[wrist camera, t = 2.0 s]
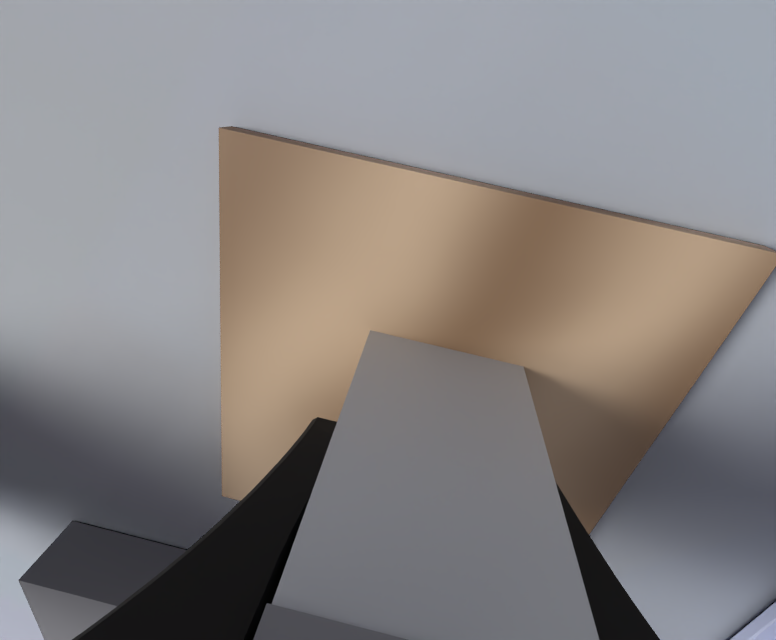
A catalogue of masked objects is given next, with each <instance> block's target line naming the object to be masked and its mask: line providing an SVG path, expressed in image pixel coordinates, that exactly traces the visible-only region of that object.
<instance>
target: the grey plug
mask: <svg viewBox="0 0 776 640" xmlns="http://www.w3.org/2000/svg"><path fill="white" fill-rule="evenodd" d="M253 640H599V637H598V633H597V630H596V626H595V622H594V619H593V615H592V612H591V608H590V604H589V601H588V597H587V594H586V590H585V586H584V583H583V579H582V576H581V572H580V568H579V565H578V561H577V558H576V554H575V550H574V547H573V543H572V540H571V536H570V532H569V529H568V525H567V522H566V518H565V514H564V511H563V507H562V504H561V500H560V496H559V493H558V489H557V486H556V482H555V478H554V475H553V471H552V468H551V464H550V460H549V457H548V453H547V450H546V446H545V442H544V439H543V435H542V432H541V428H540V424H539V421H538V417H537V414H536V410H535V406H534V403H533V399H532V396H531V392H530V388H529V385H528V381H527V378H526V374H525V370H524V367H523V366H519V365H515V364H511V363H506V362H502V361H498V360H494V359H490V358H485V357H481V356H477V355H473V354H468V353H464V352H460V351H456V350H452V349H447V348H443V347H439V346H435V345H430V344H426V343H422V342H418V341H414V340H409V339H405V338H401V337H397V336H393V335H388V334H384V333H380V332H376V331H371V330H370V332H369V335H368V338H367V340H366V343H365V346H364V349H363V351H362V354H361V357H360V360H359V363H358V365H357V368H356V371H355V374H354V377H353V379H352V382H351V385H350V388H349V390H348V393H347V396H346V399H345V402H344V404H343V407H342V410H341V413H340V415H339V418H338V421H337V424H336V427H335V429H334V432H333V435H332V438H331V440H330V443H329V446H328V449H327V452H326V454H325V457H324V460H323V463H322V465H321V468H320V471H319V474H318V477H317V479H316V482H315V485H314V488H313V490H312V493H311V496H310V499H309V502H308V504H307V507H306V510H305V513H304V515H303V518H302V521H301V524H300V527H299V529H298V532H297V535H296V538H295V540H294V543H293V546H292V549H291V552H290V554H289V557H288V560H287V563H286V565H285V568H284V571H283V574H282V577H281V579H280V582H279V585H278V588H277V590H276V593H275V596H274V599H273V602H272V604H269V603H267V604H266V606H265V609H264V612H263V615H262V617H261V620H260V623H259V625H258V628H257V631H256V633H255V636H254V639H253Z"/></svg>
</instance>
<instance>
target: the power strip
mask: <svg viewBox="0 0 776 640" xmlns="http://www.w3.org/2000/svg"><path fill="white" fill-rule="evenodd" d="M185 551H187V550H184V549H180V548H176V547H172V546H168V545H164V544H160V543H156V542H153V541H149V540H145V539H141V538H137V537H133V536H129V535H125V534H121V533H118V532H114V531H110V530H106V529H102V528H98V527H94V526H90V525H86V524H82V523H79V522H75V521H72V522H71V523H70V524H69V525H68V526H67V528H66V529H65V530H64V531H63V532H62V533H61V534H60V535H59V536H58V537H57V539H56V540H55V541H54V542H53V543H52V544H51V545H50V546H49V547H48V548H47V550H46V551H45V552H44V553H43V554H42V555H41V556H40V557H39V558H38V559H37V561H36V562H35V563H34V564H33V565H32V566H31V567H30V568H29V569H28V570H27V571H26V573H25V574H24V575H23V576H22V577H21V578H20V579H19V583H20V585H21V587H22V589H23V592H24V594H25V596H26V599H27V601H28V603H29V605H30V608H31V610H32V612H33V615H34V617H35V619H36V621H37V624H38V626H39V628H40V631H41V633H42V635H43V637H44V640H72V639H73V638H75V637H76V636H78V635H79V634H80V633H82V632H83V631H85V630H86V629H87V628H89V627H90V626H91V625H93V624H94V623H96V622H97V621H98V620H100V619H101V618H102V617H104V616H105V615H106V614H108V613H109V612H110V611H112V610H113V609H114V608H116V607H117V606H118V605H119V604H121V603H122V602H123V601H125V600H126V599H127V598H128V597H130V596H131V595H132V594H134V593H135V592H136V591H137V590H139V589H140V588H141V587H143V586H144V585H145V584H146V583H148V582H149V581H150V580H151V579H153V578H154V577H155V576H157V575H158V574H159V573H160V572H162V571H163V570H164V569H165V568H166V567H168V566H169V565H170V564H171V563H172V562H174V561H175V560H176V559H177V558H178V557H180V556H181V555H182V554H183V553H184V552H185Z"/></svg>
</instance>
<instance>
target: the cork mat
mask: <svg viewBox="0 0 776 640" xmlns="http://www.w3.org/2000/svg"><path fill="white" fill-rule="evenodd" d="M219 203H220V323H221V443H222V496H224V497H228V498H232V499H236V500H240V501H241V500H242V499H243V498H244V497H245V496H246V495H247V494H248V493H249V492H250V491H251V490H252V489H253V488H254V487H255V486H256V485H257V484H258V483H259V482H260V481H261V480H262V479H263V478H264V477H265V476H266V475H267V474H268V472H269V471H270V470H271V469H272V468H273V467H274V466H275V465H276V464H277V463H278V462H279V461H280V460H281V458H282V457H283V456H284V455H285V454H286V453H287V452H288V450H289V449H290V448H291V447H292V446H293V445H294V443H295V442H296V441H297V440H298V438H299V437H300V436H301V435H302V433H303V432H304V431H305V429H306V428H307V427H308V425H309V424H310V422H311V421H312V420H313V419H315V418H317V417H319V418H324V419H328V420H332V421H336V422H337V421H338V418H339V415H340V413H341V410H342V407H343V404H344V402H345V399H346V396H347V393H348V390H349V388H350V385H351V382H352V379H353V377H354V374H355V371H356V368H357V365H358V363H359V360H360V357H361V354H362V351H363V349H364V346H365V343H366V340H367V338H368V335H369V332H370V330H371V331H376V332H380V333H384V334H388V335H393V336H397V337H401V338H405V339H409V340H414V341H418V342H422V343H426V344H430V345H435V346H439V347H443V348H447V349H452V350H456V351H460V352H464V353H468V354H473V355H477V356H481V357H485V358H490V359H494V360H498V361H502V362H506V363H511V364H515V365H519V366H523V367H524V370H525V374H526V378H527V381H528V385H529V388H530V392H531V396H532V399H533V403H534V406H535V410H536V414H537V417H538V421H539V424H540V428H541V432H542V435H543V439H544V442H545V446H546V450H547V453H548V457H549V460H550V464H551V468H552V471H553V475H554V478H555V481H556V483H557V485H558V486H559V488H560V489H561V491H562V493H563V494H564V496H565V497H566V499H567V501H568V502H569V504H570V506H571V507H572V509H573V510H574V512H575V514H576V515H577V517H578V519H579V520H580V522H581V523H582V525H583V526H584V528H585V530H586V531H587V533H588V534H590V533H591V531H592V530H593V528H594V527H595V526H596V524H597V523H598V521H599V520H600V518H601V517H602V515H603V514H604V513H605V511H606V510H607V508H608V507H609V505H610V504H611V503H612V501H613V500H614V498H615V497H616V495H617V494H618V492H619V491H620V490H621V488H622V487H623V485H624V484H625V482H626V481H627V479H628V478H629V477H630V475H631V474H632V472H633V471H634V469H635V468H636V467H637V465H638V464H639V462H640V461H641V459H642V458H643V456H644V455H645V454H646V452H647V451H648V449H649V448H650V446H651V445H652V444H653V442H654V441H655V439H656V438H657V436H658V435H659V433H660V432H661V431H662V429H663V428H664V426H665V425H666V423H667V422H668V421H669V419H670V418H671V416H672V415H673V413H674V412H675V410H676V409H677V408H678V406H679V405H680V403H681V402H682V400H683V399H684V398H685V396H686V395H687V393H688V392H689V390H690V389H691V387H692V386H693V385H694V383H695V382H696V380H697V379H698V377H699V376H700V375H701V373H702V372H703V370H704V369H705V367H706V366H707V364H708V363H709V362H710V360H711V359H712V357H713V356H714V354H715V353H716V352H717V350H718V349H719V347H720V346H721V344H722V343H723V341H724V340H725V339H726V337H727V336H728V334H729V333H730V331H731V330H732V329H733V327H734V326H735V324H736V323H737V321H738V320H739V318H740V317H741V316H742V314H743V313H744V311H745V310H746V308H747V307H748V306H749V304H750V303H751V301H752V300H753V298H754V297H755V295H756V294H757V293H758V291H759V290H760V288H761V287H762V285H763V284H764V283H765V281H766V280H767V278H768V277H769V275H770V274H771V272H772V271H773V270H774V268H775V267H776V251H775V250H772V249H770V248H768V247H766V246H763V245H758V244H754V243H749V242H745V241H741V240H736V239H732V238H727V237H723V236H718V235H714V234H709V233H705V232H700V231H696V230H692V229H687V228H683V227H678V226H674V225H669V224H665V223H660V222H656V221H651V220H647V219H642V218H638V217H634V216H629V215H625V214H620V213H616V212H611V211H607V210H602V209H598V208H593V207H589V206H585V205H580V204H576V203H571V202H567V201H562V200H558V199H553V198H549V197H544V196H540V195H536V194H531V193H527V192H522V191H518V190H513V189H509V188H504V187H500V186H495V185H491V184H487V183H482V182H478V181H473V180H469V179H464V178H460V177H455V176H451V175H446V174H442V173H438V172H433V171H429V170H424V169H420V168H415V167H411V166H406V165H402V164H397V163H393V162H389V161H384V160H380V159H375V158H371V157H366V156H362V155H357V154H353V153H348V152H344V151H339V150H335V149H331V148H326V147H322V146H317V145H313V144H308V143H304V142H299V141H295V140H290V139H286V138H282V137H277V136H273V135H268V134H264V133H259V132H255V131H250V130H246V129H241V128H237V127H233V126H231V127H220V128H219Z"/></svg>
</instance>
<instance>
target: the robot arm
mask: <svg viewBox="0 0 776 640" xmlns="http://www.w3.org/2000/svg"><path fill="white" fill-rule="evenodd" d="M336 424H337V422H336V421H332V420H328V419H324V418H319V417H317V418H315V419H313V420H312V421H311V422H310V424H309V425H308V427H307V428H306V429H305V431H304V432H303V433H302V435H301V436H300V437H299V438H298V440H297V441H296V442H295V443H294V445H293V446H292V447H291V448H290V449H289V450H288V452H287V453H286V454H285V455H284V456H283V457H282V458H281V460H280V461H279V462H278V463H277V464H276V465H275V466H274V467H273V468H272V469H271V470H270V471H269V472H268V474H267V475H266V476H265V477H264V478H263V479H262V480H261V481H260V482H259V483H258V484H257V485H256V486H255V487H254V488H253V489H252V490H251V491H250V492H249V493H248V494H247V495H246V496H245V497H244V498H243V499H242V500H241V501H240V502H239V503H238V504H237V505H236V506H235V507H234V508H233V509H232V510H231V511H230V512H229V513H228V514H226V515H225V516H224V517H223V518H222V519H221V520H220V521H219V522H218V523H217V524H216V525H215V526H214V527H213V528H212V529H211V530H209V531H208V532H207V533H206V534H205V535H204V536H203V537H202V538H200V539H199V540H198V541H197V542H196V543H195V544H194V545H192V546H191V547H190V548H189V549H188V550H187V551H185V552H184V553H183V554H182V555H181V556H180V557H178V558H177V559H176V560H175V561H174V562H172V563H171V564H170V565H169V566H168V567H166V568H165V569H164V570H163V571H162V572H160V573H159V574H158V575H157V576H155V577H154V578H153V579H151V580H150V581H149V582H148V583H146V584H145V585H144V586H143V587H141V588H140V589H139V590H137V591H136V592H135V593H134V594H132V595H131V596H130V597H128V598H127V599H126V600H125V601H123V602H122V603H121V604H119V605H118V606H117V607H116V608H114V609H113V610H112V611H110V612H109V613H108V614H106V615H105V616H104V617H102V618H101V619H100V620H98V621H97V622H96V623H94V624H93V625H91V626H90V627H89V628H87V629H86V630H85V631H83V632H82V633H80V634H79V635H78V636H76V637H75V638H73V639H72V640H253V639H254V636H255V633H256V631H257V628H258V625H259V623H260V620H261V617H262V615H263V612H264V609H265V606H266V604H267V603H269V604H272V602H273V599H274V596H275V593H276V590H277V588H278V585H279V582H280V579H281V577H282V574H283V571H284V568H285V565H286V563H287V560H288V557H289V554H290V552H291V549H292V546H293V543H294V540H295V538H296V535H297V532H298V529H299V527H300V524H301V521H302V518H303V515H304V513H305V510H306V507H307V504H308V502H309V499H310V496H311V493H312V490H313V488H314V485H315V482H316V479H317V477H318V474H319V471H320V468H321V465H322V463H323V460H324V457H325V454H326V452H327V449H328V446H329V443H330V440H331V438H332V435H333V432H334V429H335V427H336ZM555 482H556V481H555ZM556 486H557V489H558V493H559V496H560V500H561V504H562V507H563V511H564V514H565V518H566V522H567V525H568V529H569V532H570V536H571V540H572V543H573V547H574V550H575V554H576V558H577V561H578V565H579V568H580V572H581V576H582V579H583V583H584V586H585V590H586V594H587V597H588V601H589V604H590V608H591V612H592V615H593V619H594V622H595V626H596V630H597V633H598V637H599V640H660V639H659V638H658V636H657V635H656V634H655V632H654V631H653V629H652V628H651V627H650V625H649V624H648V622H647V621H646V620H645V618H644V617H643V615H642V614H641V613H640V611H639V610H638V608H637V607H636V606H635V604H634V603H633V601H632V600H631V598H630V597H629V595H628V594H627V592H626V591H625V590H624V588H623V587H622V585H621V584H620V582H619V581H618V579H617V578H616V576H615V575H614V573H613V572H612V570H611V569H610V567H609V566H608V564H607V562H606V561H605V559H604V558H603V556H602V555H601V553H600V552H599V550H598V549H597V547H596V545H595V544H594V542H593V541H592V539H591V538H590V536H589V534H588V533H587V531H586V530H585V528H584V526H583V525H582V523H581V522H580V520H579V519H578V517H577V515H576V514H575V512H574V510H573V509H572V507H571V506H570V504H569V502H568V501H567V499H566V497H565V496H564V494H563V493H562V491H561V489H560V488H559V486H558V485H557V483H556ZM730 640H776V602H775V603H773V604H772V605H771V606H770V607H769V608H767V609H766V610H765V611H764V612H763V613H761V614H760V615H759V616H758V617H756V618H755V619H754V620H753V621H752V622H750V623H749V624H748V625H747V626H746V627H744V628H743V629H742V630H741V631H740V632H738V633H737V634H736V635H735V636H734V637H732V638H731V639H730Z"/></svg>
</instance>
